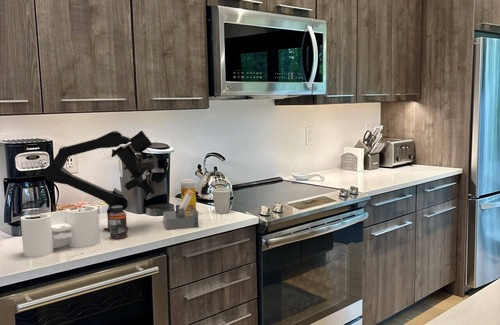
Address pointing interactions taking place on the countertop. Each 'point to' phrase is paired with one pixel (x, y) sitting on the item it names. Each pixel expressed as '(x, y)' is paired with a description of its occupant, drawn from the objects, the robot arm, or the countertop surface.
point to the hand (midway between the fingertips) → (154, 193)
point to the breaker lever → (186, 199)
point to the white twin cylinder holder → (60, 231)
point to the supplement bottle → (117, 222)
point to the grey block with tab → (181, 218)
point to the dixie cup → (221, 200)
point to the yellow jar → (185, 186)
